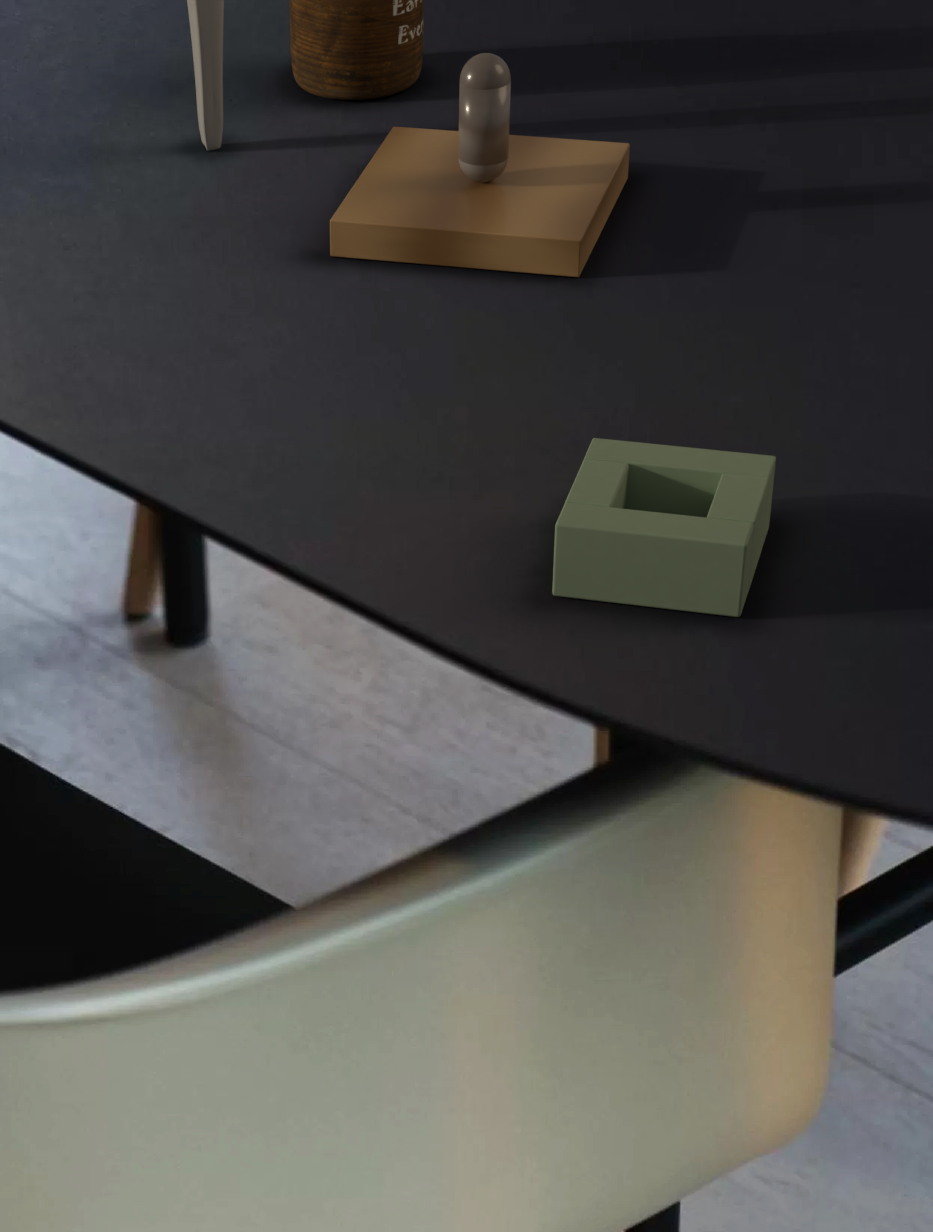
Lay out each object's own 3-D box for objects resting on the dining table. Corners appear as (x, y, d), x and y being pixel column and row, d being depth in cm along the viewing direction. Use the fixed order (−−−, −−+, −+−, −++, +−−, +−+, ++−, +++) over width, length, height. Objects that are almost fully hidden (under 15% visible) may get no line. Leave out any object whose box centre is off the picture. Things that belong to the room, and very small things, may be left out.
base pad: (628, 178, 111) (637, 18, 107) (579, 277, 104) (587, 109, 100) (393, 160, 114) (393, 3, 110) (329, 256, 107) (327, 92, 103)
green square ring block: (769, 527, 89) (776, 455, 87) (740, 618, 84) (747, 544, 83) (589, 508, 90) (592, 436, 89) (551, 596, 86) (554, 523, 84)
